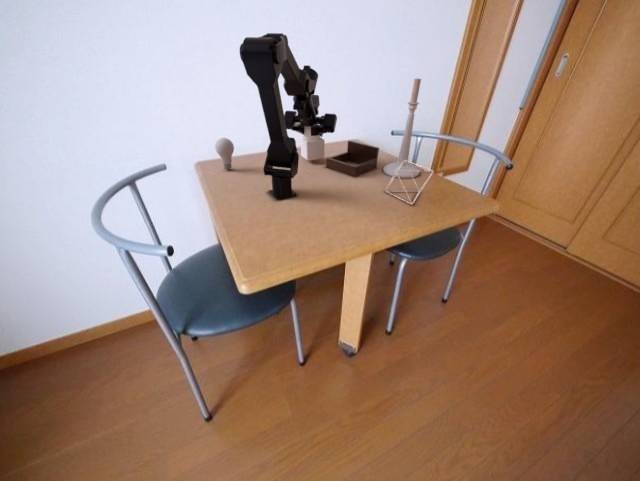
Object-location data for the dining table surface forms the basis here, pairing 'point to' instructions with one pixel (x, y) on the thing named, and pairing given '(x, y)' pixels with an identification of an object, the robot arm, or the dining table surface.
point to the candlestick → (406, 141)
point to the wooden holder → (354, 159)
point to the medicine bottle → (312, 143)
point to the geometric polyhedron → (402, 183)
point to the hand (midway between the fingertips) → (313, 135)
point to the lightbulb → (225, 151)
